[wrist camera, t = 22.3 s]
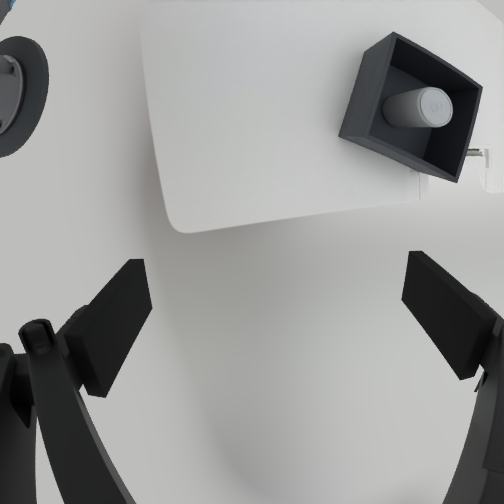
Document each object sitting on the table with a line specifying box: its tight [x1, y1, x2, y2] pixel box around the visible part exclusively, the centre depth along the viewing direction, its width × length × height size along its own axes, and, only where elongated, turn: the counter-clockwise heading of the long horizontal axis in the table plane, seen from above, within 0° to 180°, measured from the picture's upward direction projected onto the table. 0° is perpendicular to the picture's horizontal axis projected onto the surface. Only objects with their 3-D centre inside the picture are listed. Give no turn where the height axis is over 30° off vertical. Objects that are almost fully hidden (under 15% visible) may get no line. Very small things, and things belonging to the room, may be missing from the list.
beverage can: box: [383, 87, 453, 127], centre depth 34 cm, size 5×5×12 cm
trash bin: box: [338, 32, 483, 183], centre depth 35 cm, size 14×14×11 cm
